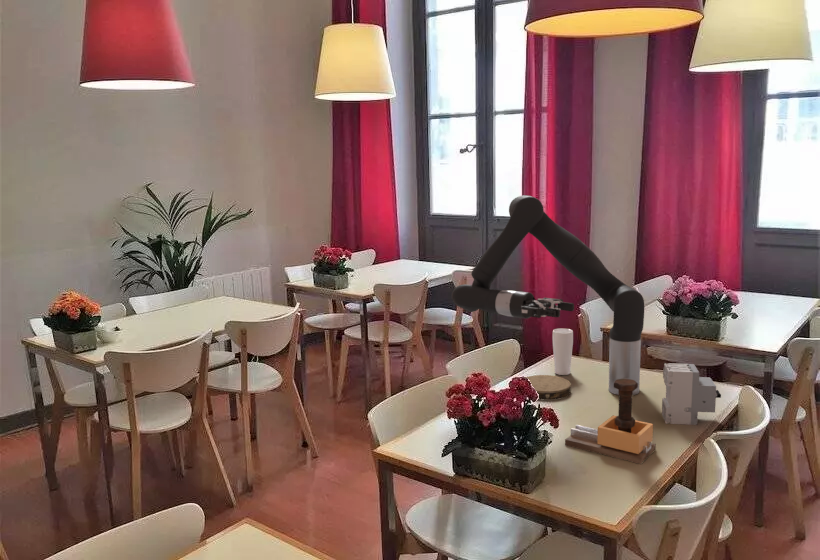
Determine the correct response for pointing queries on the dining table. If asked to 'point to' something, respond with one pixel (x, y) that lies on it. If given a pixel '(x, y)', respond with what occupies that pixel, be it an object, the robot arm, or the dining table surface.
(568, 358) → the drinking glass
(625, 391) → the bolt
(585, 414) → the dining table surface
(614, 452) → the rail board
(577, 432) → the rail
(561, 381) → the brown round disc
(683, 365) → the circuit breaker
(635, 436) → the orange open box
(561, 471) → the dining table surface
